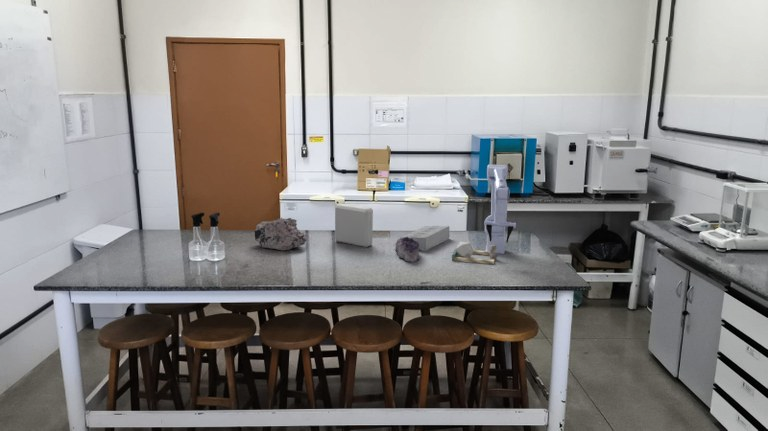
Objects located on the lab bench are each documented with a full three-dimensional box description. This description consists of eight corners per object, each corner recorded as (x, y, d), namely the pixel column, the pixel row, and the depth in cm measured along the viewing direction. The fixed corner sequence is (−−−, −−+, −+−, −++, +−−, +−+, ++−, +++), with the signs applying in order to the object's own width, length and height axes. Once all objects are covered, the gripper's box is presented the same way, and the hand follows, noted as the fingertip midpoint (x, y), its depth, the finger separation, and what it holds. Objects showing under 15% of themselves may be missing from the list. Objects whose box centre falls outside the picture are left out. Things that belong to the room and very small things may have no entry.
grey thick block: (375, 244, 293) (375, 207, 289) (366, 248, 286) (366, 210, 282) (342, 238, 304) (342, 202, 300) (333, 241, 297) (333, 205, 293)
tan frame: (496, 254, 278) (497, 241, 276) (494, 264, 262) (495, 250, 261) (456, 251, 283) (456, 238, 281) (451, 260, 267) (452, 246, 266)
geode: (426, 262, 264) (424, 242, 262) (403, 266, 263) (400, 246, 260) (416, 249, 284) (414, 230, 281) (394, 253, 282) (392, 234, 279)
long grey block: (425, 235, 315) (425, 222, 313) (448, 239, 308) (449, 226, 306) (400, 248, 290) (400, 233, 288) (425, 252, 283) (425, 237, 281)
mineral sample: (310, 217, 293) (299, 210, 279) (310, 252, 288) (300, 247, 274) (262, 223, 298) (249, 216, 284) (262, 257, 293) (249, 252, 279)
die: (462, 263, 266) (475, 247, 266) (449, 251, 270) (461, 236, 269) (466, 264, 274) (479, 249, 273) (453, 253, 277) (465, 238, 276)
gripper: (484, 213, 259) (482, 242, 262) (516, 215, 256) (514, 244, 258) (485, 210, 266) (483, 238, 269) (516, 212, 262) (514, 240, 265)
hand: (498, 241), depth 264 cm, fingers open, 7 cm apart
